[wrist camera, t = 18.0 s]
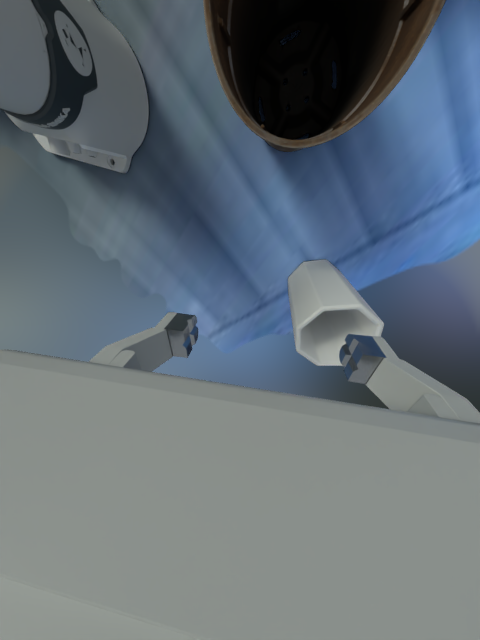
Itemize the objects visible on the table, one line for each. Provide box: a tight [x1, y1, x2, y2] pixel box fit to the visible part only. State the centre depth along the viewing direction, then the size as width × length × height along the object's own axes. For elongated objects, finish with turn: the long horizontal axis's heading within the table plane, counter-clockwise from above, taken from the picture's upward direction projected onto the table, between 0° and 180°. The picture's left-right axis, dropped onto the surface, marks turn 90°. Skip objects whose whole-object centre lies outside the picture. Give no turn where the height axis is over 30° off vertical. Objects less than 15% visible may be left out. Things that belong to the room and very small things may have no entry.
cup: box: [288, 259, 384, 366], centre depth 32 cm, size 11×11×18 cm
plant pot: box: [203, 0, 446, 152], centre depth 19 cm, size 16×16×16 cm
